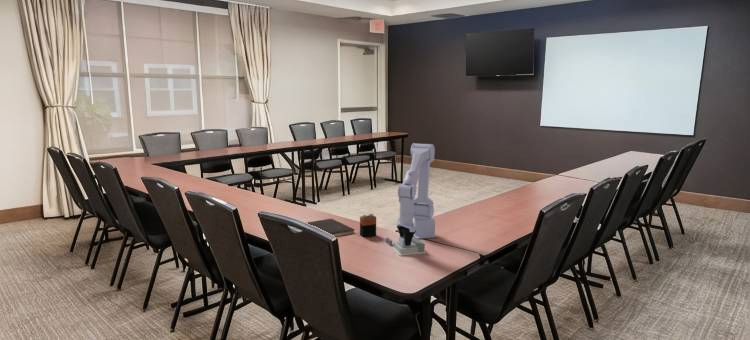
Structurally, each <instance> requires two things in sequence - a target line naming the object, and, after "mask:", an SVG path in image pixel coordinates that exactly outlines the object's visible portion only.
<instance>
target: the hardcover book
mask: <svg viewBox="0 0 750 340" xmlns="http://www.w3.org/2000/svg"><path fill="white" fill-rule="evenodd" d="M306 223H308V224H310V225H313V226H316V227H318V228H320V229H322V230H324V231H326V232H328V233H330V234H332V235H334V236H335V237H340V236H345V235H351V234H354V232H355V229H354V228H352V227H351V226H349V225H346V224H344V223H342V222H340V221H338V220H336V219H334V218H327V219H321V220H315V221H308V222H306Z"/></svg>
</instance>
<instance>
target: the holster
mask: <svg viewBox="0 0 750 340" xmlns="http://www.w3.org/2000/svg"><path fill="white" fill-rule="evenodd" d="M385 242H386V243H387V244H388V246H393V240H392V239H391V238H389V237H385Z"/></svg>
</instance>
